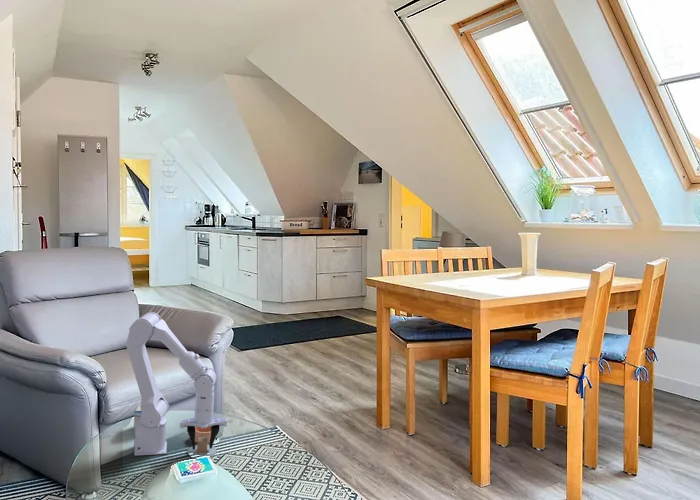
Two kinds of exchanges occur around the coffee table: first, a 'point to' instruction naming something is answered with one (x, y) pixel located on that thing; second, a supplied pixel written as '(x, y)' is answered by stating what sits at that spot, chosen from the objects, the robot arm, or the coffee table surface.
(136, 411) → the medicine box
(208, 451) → the lid
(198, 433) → the bowl
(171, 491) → the coffee table surface
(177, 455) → the coffee table surface
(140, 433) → the robot arm
